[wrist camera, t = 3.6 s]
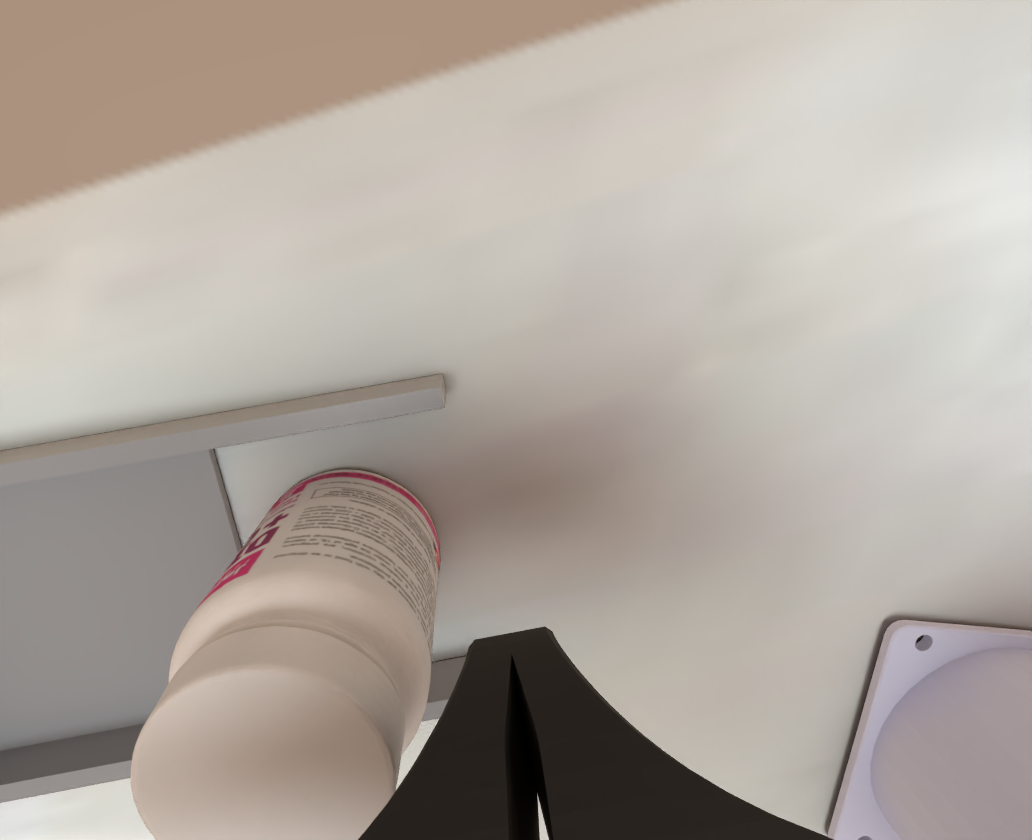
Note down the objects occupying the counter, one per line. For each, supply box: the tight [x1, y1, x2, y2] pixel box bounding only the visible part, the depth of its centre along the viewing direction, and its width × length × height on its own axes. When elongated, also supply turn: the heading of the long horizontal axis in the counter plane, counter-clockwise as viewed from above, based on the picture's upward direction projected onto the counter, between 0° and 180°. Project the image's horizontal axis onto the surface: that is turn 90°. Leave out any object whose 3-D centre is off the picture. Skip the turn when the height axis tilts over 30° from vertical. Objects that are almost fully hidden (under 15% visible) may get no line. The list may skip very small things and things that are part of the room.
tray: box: [0, 374, 467, 803], centre depth 18 cm, size 15×9×2 cm, turn 99°
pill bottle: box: [131, 470, 440, 840], centre depth 15 cm, size 5×5×8 cm
